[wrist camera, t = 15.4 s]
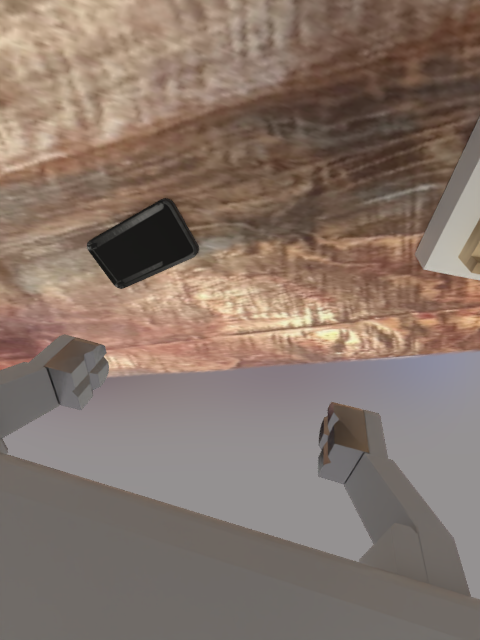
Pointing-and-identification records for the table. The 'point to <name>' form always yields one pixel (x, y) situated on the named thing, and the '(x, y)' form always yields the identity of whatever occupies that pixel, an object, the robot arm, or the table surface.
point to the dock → (454, 216)
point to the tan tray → (472, 251)
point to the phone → (144, 244)
